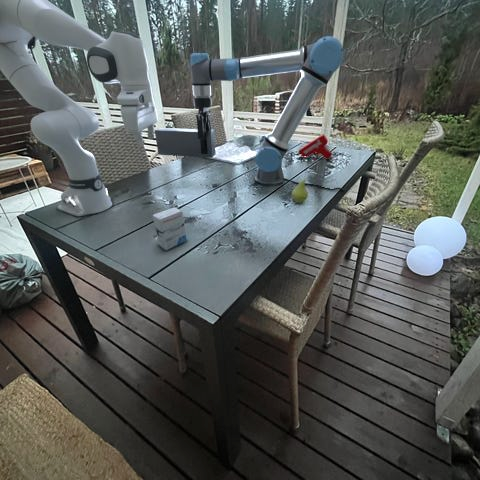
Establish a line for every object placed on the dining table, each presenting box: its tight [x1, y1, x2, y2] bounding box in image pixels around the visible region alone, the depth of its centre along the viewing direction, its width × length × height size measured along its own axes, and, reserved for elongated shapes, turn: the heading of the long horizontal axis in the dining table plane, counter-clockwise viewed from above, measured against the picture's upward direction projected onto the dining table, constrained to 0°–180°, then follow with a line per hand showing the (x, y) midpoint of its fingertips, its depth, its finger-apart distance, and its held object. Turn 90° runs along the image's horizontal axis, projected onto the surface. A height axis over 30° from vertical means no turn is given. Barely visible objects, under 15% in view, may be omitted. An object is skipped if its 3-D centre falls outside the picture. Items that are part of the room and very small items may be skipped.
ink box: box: [152, 206, 187, 251], centre depth 91 cm, size 8×5×12 cm, turn 135°
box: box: [154, 127, 216, 159], centre depth 128 cm, size 27×6×11 cm, turn 79°
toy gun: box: [298, 133, 333, 161], centre depth 176 cm, size 18×4×15 cm
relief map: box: [205, 141, 258, 166], centre depth 184 cm, size 27×35×5 cm
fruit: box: [291, 174, 311, 204], centre depth 118 cm, size 7×8×12 cm
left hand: (146, 141), depth 92 cm, fingers open, 8 cm apart
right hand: (206, 151), depth 128 cm, fingers closed on box, 6 cm apart
